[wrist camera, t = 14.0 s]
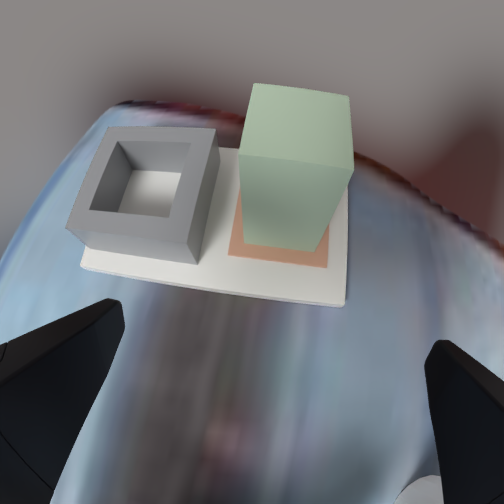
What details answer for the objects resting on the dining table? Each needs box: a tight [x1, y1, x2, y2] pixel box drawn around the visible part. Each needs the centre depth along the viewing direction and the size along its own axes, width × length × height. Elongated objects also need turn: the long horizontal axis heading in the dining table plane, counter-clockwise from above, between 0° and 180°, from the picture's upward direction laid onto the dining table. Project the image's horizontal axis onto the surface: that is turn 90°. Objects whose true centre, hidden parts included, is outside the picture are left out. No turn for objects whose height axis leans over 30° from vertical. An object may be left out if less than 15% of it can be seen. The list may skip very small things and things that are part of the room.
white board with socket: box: [65, 126, 348, 308], centre depth 22 cm, size 12×20×5 cm, turn 82°
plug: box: [238, 83, 354, 252], centre depth 18 cm, size 5×5×10 cm
